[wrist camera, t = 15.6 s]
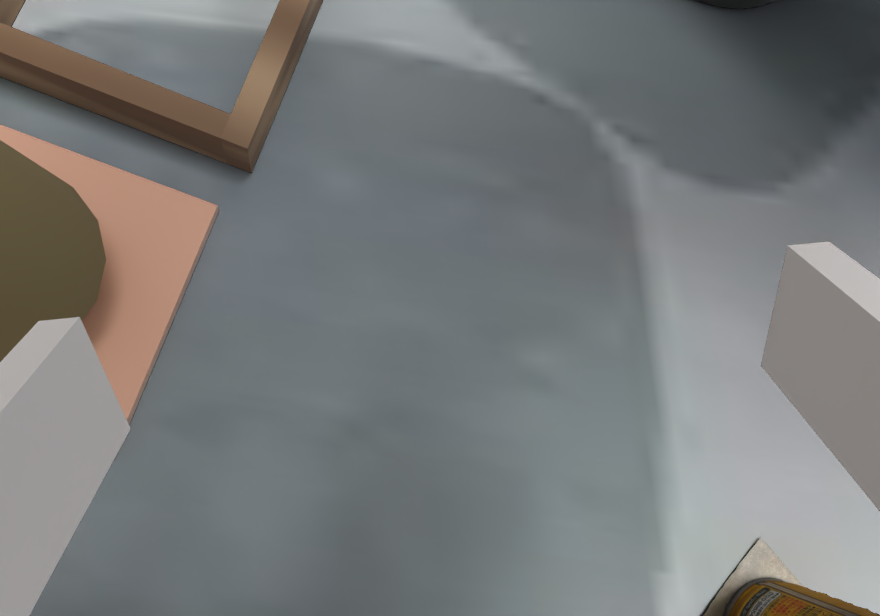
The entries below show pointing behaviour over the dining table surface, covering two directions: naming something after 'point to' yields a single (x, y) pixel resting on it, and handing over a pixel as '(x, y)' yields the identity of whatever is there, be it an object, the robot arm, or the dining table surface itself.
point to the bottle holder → (160, 107)
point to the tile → (130, 258)
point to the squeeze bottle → (43, 249)
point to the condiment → (773, 591)
